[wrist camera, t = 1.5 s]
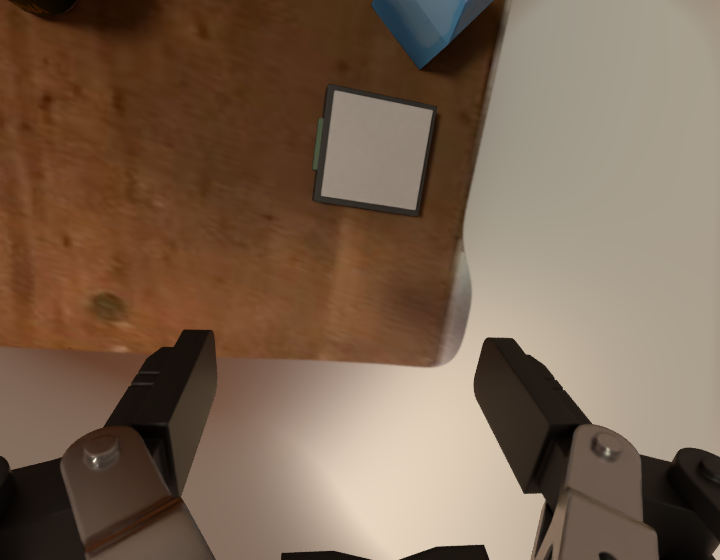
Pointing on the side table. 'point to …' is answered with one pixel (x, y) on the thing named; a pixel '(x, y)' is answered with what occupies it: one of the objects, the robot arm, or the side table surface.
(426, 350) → the side table surface
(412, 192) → the kitchen scale
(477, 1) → the perfume bottle
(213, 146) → the side table surface
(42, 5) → the beer can
